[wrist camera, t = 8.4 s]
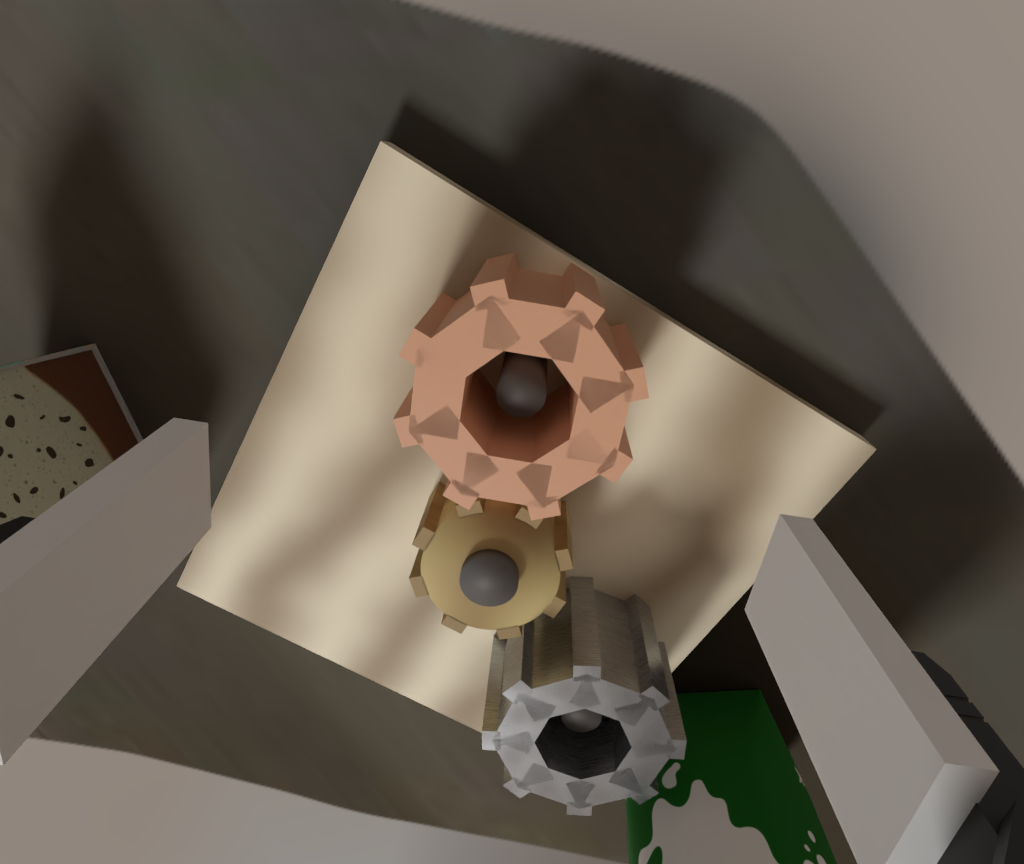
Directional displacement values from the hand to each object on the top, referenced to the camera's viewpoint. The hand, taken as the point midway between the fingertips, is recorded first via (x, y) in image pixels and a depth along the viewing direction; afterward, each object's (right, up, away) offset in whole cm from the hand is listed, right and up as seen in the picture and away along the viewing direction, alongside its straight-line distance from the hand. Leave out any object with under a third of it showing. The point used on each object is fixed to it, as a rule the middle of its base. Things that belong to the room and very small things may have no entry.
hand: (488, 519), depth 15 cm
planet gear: (+1, +5, +12) cm, 13 cm away
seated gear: (+4, -9, +18) cm, 21 cm away
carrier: (0, -2, +17) cm, 17 cm away
